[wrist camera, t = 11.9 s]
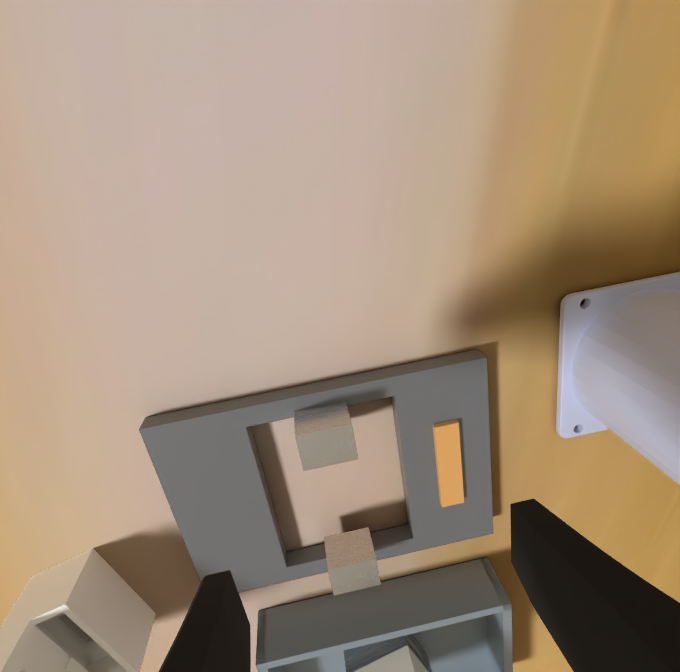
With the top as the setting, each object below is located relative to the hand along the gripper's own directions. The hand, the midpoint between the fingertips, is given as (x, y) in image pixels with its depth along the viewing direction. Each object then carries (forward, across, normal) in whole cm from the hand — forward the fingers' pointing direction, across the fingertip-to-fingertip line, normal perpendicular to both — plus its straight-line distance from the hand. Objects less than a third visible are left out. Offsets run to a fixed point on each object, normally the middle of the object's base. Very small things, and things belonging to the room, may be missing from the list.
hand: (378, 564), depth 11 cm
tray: (+10, 0, +20) cm, 22 cm away
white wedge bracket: (+11, +15, +10) cm, 21 cm away
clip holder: (+10, +1, +6) cm, 12 cm away
